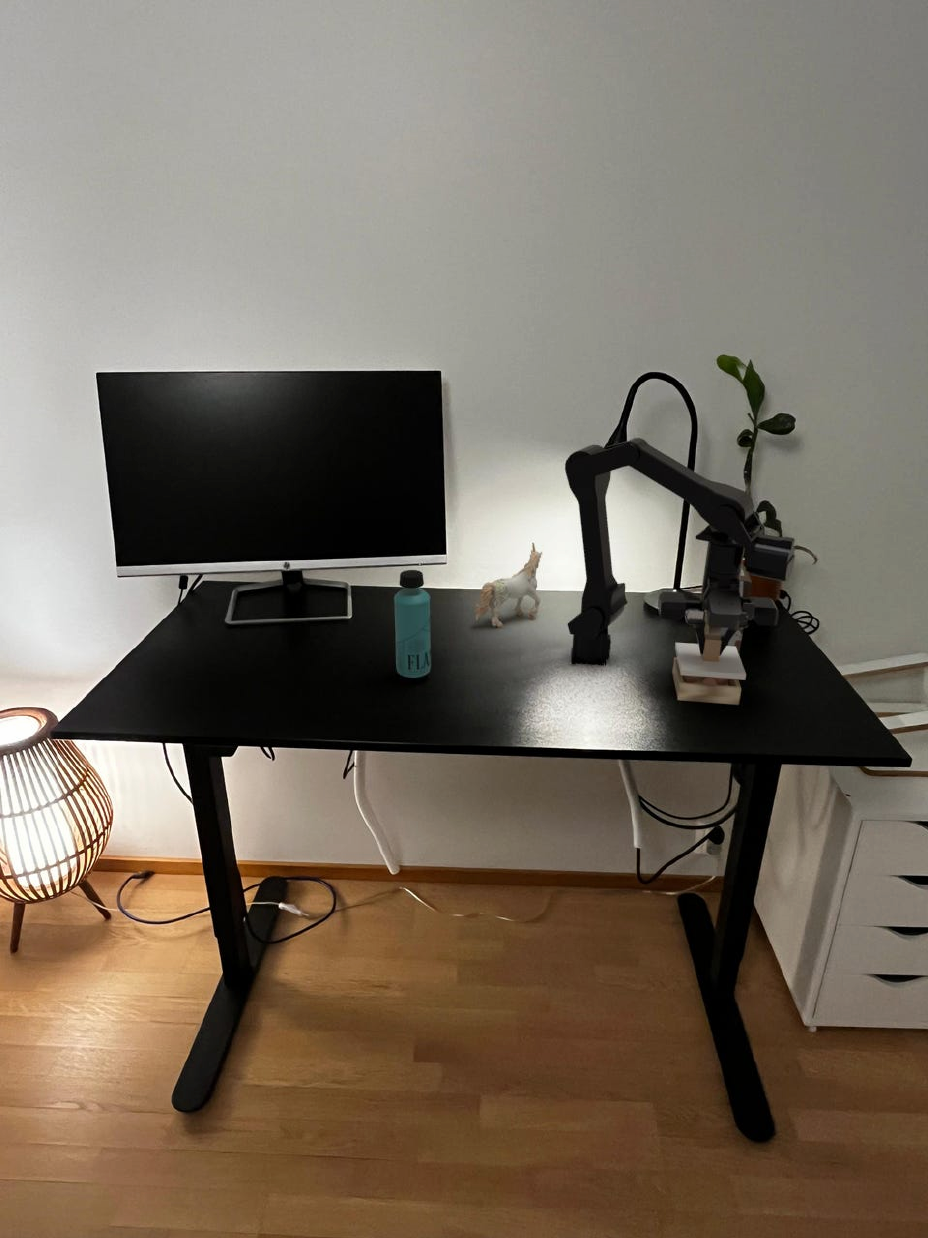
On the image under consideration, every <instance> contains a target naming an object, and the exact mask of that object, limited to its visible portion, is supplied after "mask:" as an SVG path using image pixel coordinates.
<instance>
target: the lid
mask: <svg viewBox="0 0 928 1238" xmlns="http://www.w3.org/2000/svg"><path fill="white" fill-rule="evenodd" d="M721 642H722V640H721V637H720V634H710V633H704V650H703V654H700V651H699V646H698V643H684V642H675V645H674V650H675V655H676V658H677V660H678V664H679V669H680V674H681V675H686V676H700V677H714V678H728V679H738V680H744V681H745V680H746V679H747V678H746V677H747V672H746V671H745V668H744V664H743V662H742V659H741V657H740V653H739V654H738V651H737V648H736V647H734V646H726V648H725V649H724V651H723V653H722V654H721V656H719V655H720V648H721Z"/></svg>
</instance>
